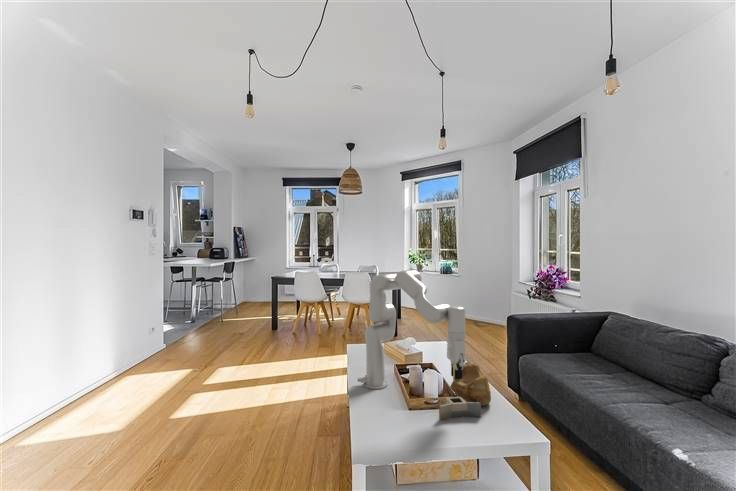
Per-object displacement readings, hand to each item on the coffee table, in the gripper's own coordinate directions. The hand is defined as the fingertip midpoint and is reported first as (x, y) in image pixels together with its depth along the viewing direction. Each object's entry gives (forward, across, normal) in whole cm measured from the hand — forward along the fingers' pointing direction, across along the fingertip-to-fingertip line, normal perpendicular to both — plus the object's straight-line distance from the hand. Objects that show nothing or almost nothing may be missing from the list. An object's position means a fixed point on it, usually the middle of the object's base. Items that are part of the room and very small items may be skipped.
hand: (456, 377), depth 167 cm
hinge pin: (+2, 0, 0) cm, 2 cm away
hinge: (+16, 0, 0) cm, 16 cm away
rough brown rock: (+16, -15, +12) cm, 26 cm away
